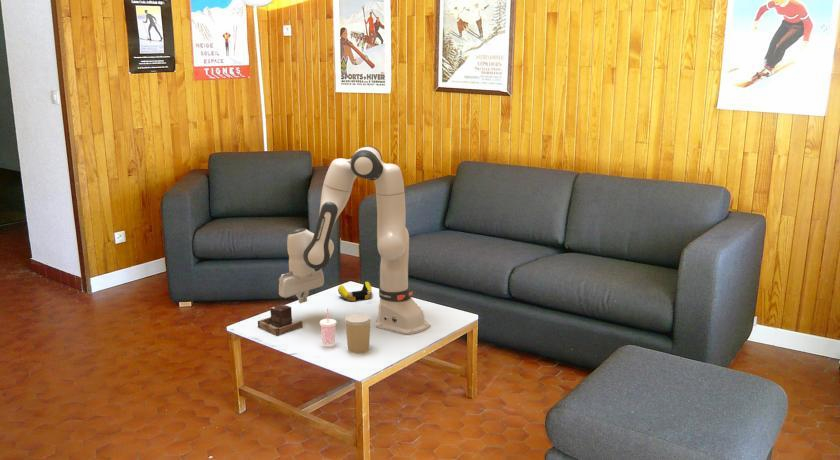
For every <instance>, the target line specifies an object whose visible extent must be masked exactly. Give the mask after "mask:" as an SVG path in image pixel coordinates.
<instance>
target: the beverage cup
mask: <svg viewBox="0 0 840 460" xmlns="http://www.w3.org/2000/svg"><path fill="white" fill-rule="evenodd" d="M319 325H320V332H321V342H322V346H323V347H326V348H327V347H328V348H330V347H334V346H335V345H336V326H337V320H336V319H333V318H329V308H326V318H323V319H320V321H319Z"/></svg>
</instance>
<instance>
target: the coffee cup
mask: <svg viewBox="0 0 840 460" xmlns="http://www.w3.org/2000/svg"><path fill="white" fill-rule="evenodd" d="M371 320H372V319H371V317H370V316H369V315H368V314H365V313H351V314H349V315H347V316H345V319H344V323H345V331H346V333H345V335H346V343H347V349H348V351H349V352H350V353H354V354H361V353H365V352H367V351H369V349H370V336H371V335H370V334H371V322H372V321H371Z"/></svg>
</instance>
